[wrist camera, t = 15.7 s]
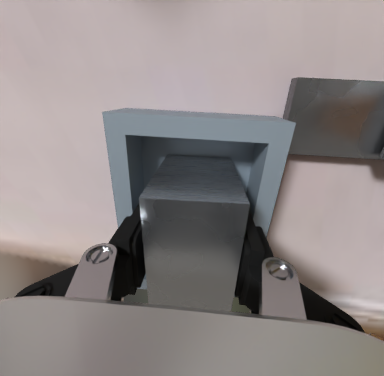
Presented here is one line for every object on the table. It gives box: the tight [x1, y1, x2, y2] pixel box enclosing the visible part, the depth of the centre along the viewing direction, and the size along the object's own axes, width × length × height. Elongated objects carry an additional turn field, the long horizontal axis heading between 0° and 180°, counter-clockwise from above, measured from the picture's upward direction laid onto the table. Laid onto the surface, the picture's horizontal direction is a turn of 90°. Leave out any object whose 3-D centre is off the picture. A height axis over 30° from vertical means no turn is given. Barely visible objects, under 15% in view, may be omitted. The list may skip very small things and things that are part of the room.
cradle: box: [102, 108, 296, 297], centre depth 13 cm, size 9×12×3 cm
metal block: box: [139, 154, 250, 312], centre depth 11 cm, size 4×7×6 cm, turn 178°
